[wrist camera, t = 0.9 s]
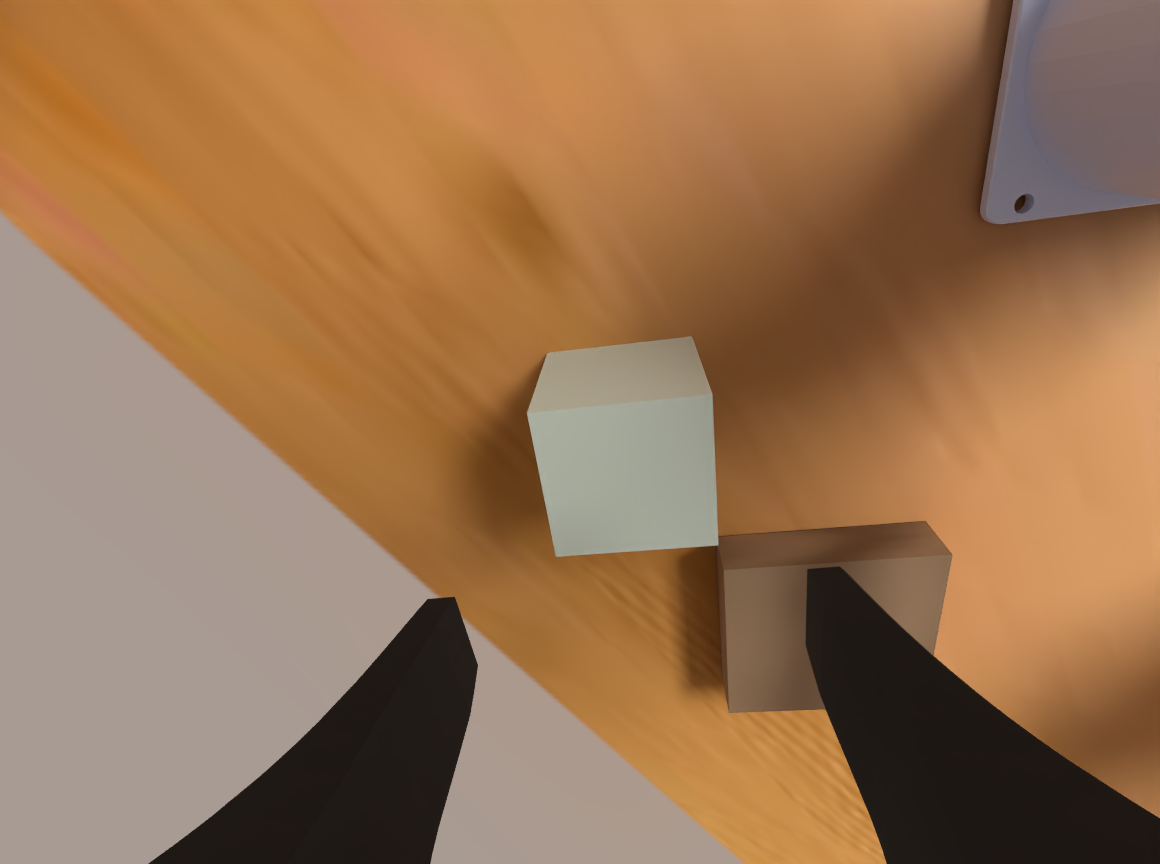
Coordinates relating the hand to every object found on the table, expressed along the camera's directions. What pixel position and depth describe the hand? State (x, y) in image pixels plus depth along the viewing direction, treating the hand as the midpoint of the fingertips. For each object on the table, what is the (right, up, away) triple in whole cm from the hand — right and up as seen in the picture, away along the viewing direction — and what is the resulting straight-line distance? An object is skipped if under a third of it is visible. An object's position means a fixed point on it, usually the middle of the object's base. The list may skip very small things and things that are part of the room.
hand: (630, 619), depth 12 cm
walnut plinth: (+9, -4, +13) cm, 16 cm away
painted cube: (+1, +5, +9) cm, 10 cm away
